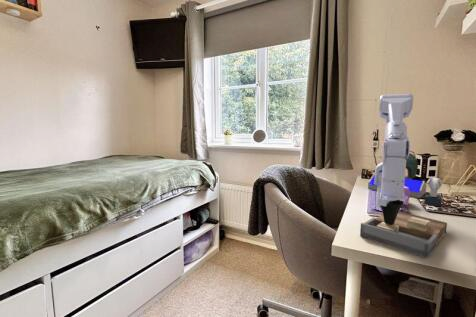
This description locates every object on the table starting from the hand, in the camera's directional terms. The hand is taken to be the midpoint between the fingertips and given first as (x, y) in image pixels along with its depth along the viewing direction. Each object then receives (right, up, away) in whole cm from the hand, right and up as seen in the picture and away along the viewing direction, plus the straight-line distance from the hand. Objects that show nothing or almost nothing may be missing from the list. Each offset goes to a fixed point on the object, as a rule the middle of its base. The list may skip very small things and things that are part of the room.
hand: (389, 223), depth 77 cm
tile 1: (-1, -2, -1) cm, 3 cm away
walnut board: (+9, -3, +4) cm, 10 cm away
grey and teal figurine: (+36, +1, +29) cm, 46 cm away
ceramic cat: (+53, +8, +79) cm, 96 cm away
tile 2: (+8, -1, -1) cm, 8 cm away
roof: (+33, +3, +49) cm, 59 cm away
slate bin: (0, -4, -3) cm, 5 cm away
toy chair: (+21, +1, +31) cm, 38 cm away
